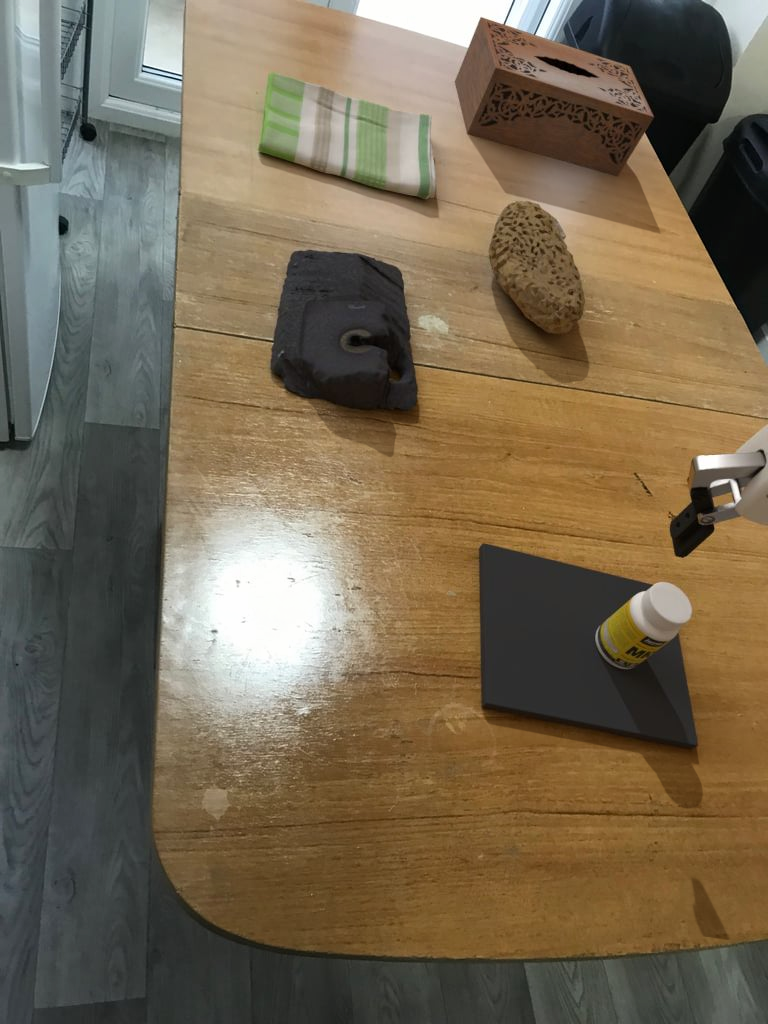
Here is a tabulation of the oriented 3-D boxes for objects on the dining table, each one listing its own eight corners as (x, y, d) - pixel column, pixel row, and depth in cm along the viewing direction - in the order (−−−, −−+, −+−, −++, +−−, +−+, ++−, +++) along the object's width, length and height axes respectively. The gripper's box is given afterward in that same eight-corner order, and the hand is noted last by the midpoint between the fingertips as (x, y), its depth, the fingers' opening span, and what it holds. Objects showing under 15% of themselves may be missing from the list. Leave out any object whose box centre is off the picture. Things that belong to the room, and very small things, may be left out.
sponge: (479, 232, 111) (471, 294, 96) (516, 182, 107) (513, 238, 91) (558, 287, 115) (562, 355, 99) (596, 240, 110) (607, 304, 94)
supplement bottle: (608, 674, 74) (662, 631, 67) (585, 627, 76) (636, 580, 70) (649, 665, 76) (706, 623, 69) (626, 619, 78) (679, 574, 72)
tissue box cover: (467, 133, 123) (495, 67, 116) (454, 81, 131) (480, 16, 124) (617, 176, 131) (654, 117, 123) (597, 124, 139) (630, 66, 132)
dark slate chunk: (413, 286, 98) (428, 253, 95) (413, 425, 85) (430, 393, 81) (285, 249, 94) (295, 214, 91) (265, 388, 81) (276, 354, 78)
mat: (664, 593, 83) (670, 588, 82) (691, 749, 73) (698, 745, 73) (478, 548, 79) (482, 542, 78) (481, 708, 69) (486, 703, 68)
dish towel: (432, 207, 109) (442, 183, 106) (256, 157, 103) (262, 130, 100) (425, 134, 119) (434, 111, 116) (265, 85, 113) (270, 59, 110)
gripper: (998, 400, 55) (815, 539, 68) (771, 328, 51) (624, 490, 64) (1045, 490, 50) (840, 620, 64) (800, 418, 47) (636, 573, 60)
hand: (731, 555), depth 64 cm, fingers open, 9 cm apart
